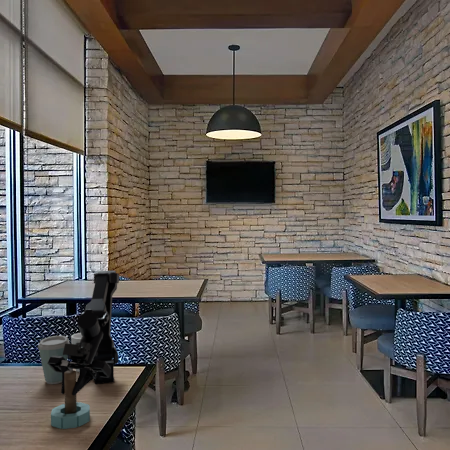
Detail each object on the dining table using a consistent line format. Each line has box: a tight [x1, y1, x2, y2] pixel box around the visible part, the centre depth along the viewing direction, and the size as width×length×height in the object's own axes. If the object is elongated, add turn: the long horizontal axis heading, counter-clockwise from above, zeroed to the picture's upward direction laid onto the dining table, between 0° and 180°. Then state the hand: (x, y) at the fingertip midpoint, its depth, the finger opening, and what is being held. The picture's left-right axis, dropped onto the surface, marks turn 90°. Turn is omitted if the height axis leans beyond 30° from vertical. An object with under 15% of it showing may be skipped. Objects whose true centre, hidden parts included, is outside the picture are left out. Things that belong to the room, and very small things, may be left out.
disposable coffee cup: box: [37, 335, 71, 385], centre depth 166 cm, size 11×11×15 cm
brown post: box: [64, 369, 77, 414], centre depth 135 cm, size 3×3×12 cm
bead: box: [50, 401, 91, 430], centre depth 135 cm, size 10×10×3 cm
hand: (67, 394), depth 133 cm, fingers closed on brown post, 3 cm apart
